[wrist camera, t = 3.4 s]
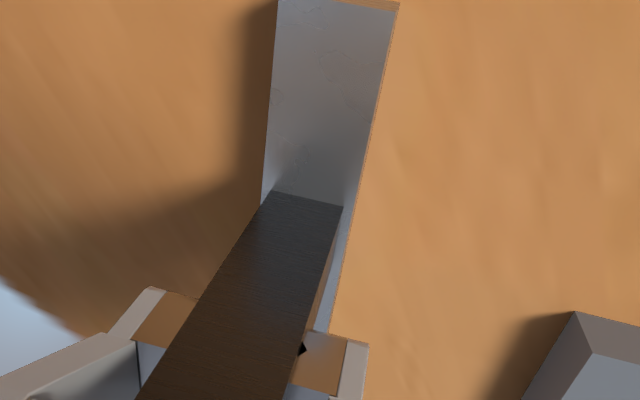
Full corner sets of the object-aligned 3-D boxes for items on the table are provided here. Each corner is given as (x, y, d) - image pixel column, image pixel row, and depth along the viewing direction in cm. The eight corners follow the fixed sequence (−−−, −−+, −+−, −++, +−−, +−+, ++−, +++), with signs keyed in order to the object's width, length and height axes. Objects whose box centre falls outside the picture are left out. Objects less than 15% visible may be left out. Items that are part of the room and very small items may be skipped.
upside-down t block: (302, -15, 13) (-32, 70, 4) (400, 2, 13) (328, 148, 3) (265, 316, 21) (117, 651, 11) (327, 333, 20) (236, 693, 10)
